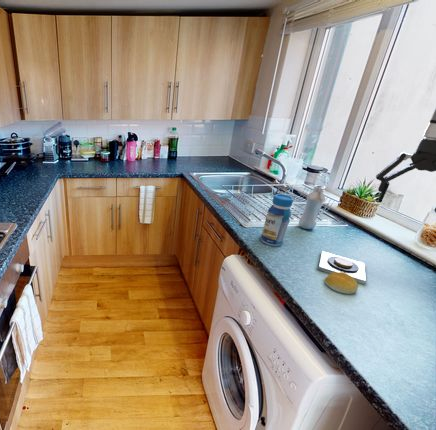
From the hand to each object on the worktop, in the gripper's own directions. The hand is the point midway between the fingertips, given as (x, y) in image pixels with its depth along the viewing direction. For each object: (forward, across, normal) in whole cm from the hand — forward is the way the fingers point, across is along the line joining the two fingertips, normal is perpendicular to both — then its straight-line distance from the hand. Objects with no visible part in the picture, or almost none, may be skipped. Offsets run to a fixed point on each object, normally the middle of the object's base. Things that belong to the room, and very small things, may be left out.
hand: (406, 206), depth 92 cm
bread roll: (+25, +10, +20) cm, 33 cm away
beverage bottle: (+25, +34, +2) cm, 42 cm away
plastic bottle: (+25, +24, -22) cm, 41 cm away
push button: (+25, +10, +7) cm, 28 cm away
